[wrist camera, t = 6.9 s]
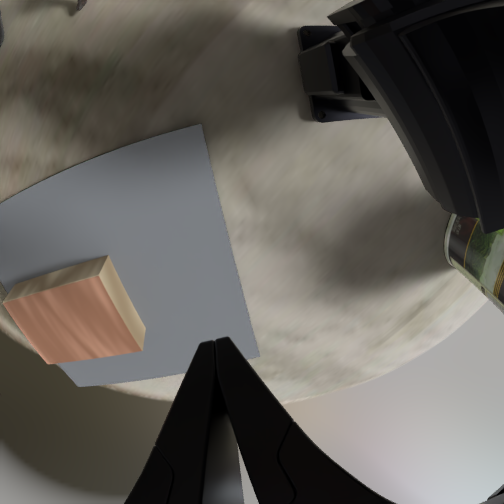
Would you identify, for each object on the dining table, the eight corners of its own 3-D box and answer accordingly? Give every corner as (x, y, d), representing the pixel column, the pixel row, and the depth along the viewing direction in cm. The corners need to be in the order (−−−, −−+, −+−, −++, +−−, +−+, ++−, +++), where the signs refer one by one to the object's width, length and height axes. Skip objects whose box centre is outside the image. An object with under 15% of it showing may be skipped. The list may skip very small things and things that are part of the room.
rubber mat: (201, 123, 16) (201, 123, 15) (259, 353, 26) (259, 356, 25) (-26, 219, 14) (-29, 221, 14) (79, 383, 24) (78, 386, 24)
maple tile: (98, 275, 16) (2, 302, 15) (142, 351, 19) (47, 364, 19) (108, 254, 18) (15, 284, 17) (145, 328, 22) (55, 344, 21)
